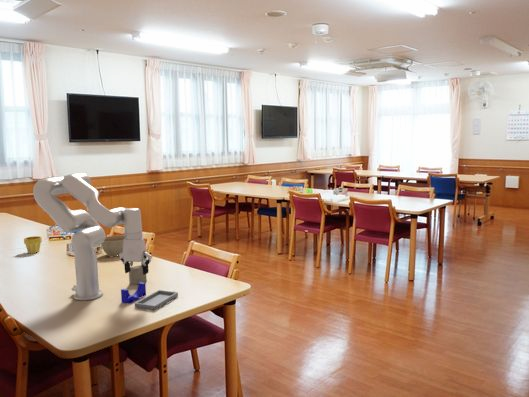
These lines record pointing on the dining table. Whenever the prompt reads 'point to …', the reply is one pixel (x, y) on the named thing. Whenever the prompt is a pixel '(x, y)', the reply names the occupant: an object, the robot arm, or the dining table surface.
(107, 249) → the planter bowl
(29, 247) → the plant pot
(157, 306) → the grey rectangular tray
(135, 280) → the padlock
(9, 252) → the dining table surface
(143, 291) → the cable clip
